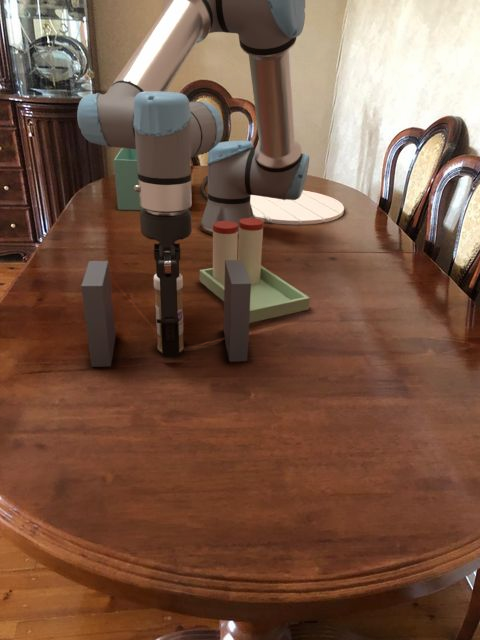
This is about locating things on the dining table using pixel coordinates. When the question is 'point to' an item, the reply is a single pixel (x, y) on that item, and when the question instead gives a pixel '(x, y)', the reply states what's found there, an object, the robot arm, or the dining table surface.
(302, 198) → the lazy susan
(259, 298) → the tray
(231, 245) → the spice bottle
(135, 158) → the box
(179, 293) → the sprinkles bottle
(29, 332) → the dining table surface
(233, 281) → the grey upright slab
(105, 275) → the grey book front
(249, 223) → the spice bottle
